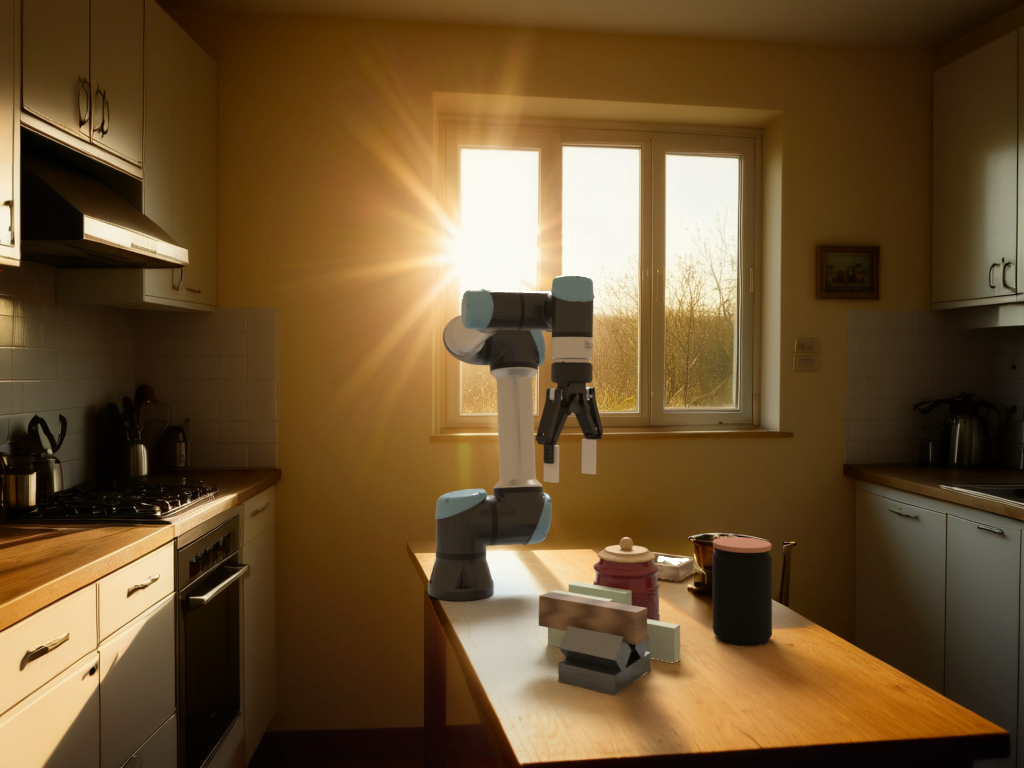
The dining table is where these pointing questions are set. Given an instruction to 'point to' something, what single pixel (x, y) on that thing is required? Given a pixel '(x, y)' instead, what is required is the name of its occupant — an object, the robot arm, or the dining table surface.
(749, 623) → the coffee jar
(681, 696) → the dining table surface
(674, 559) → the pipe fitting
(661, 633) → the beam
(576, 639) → the v block
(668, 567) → the tray
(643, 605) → the canister
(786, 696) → the dining table surface
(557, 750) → the dining table surface
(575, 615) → the bar
